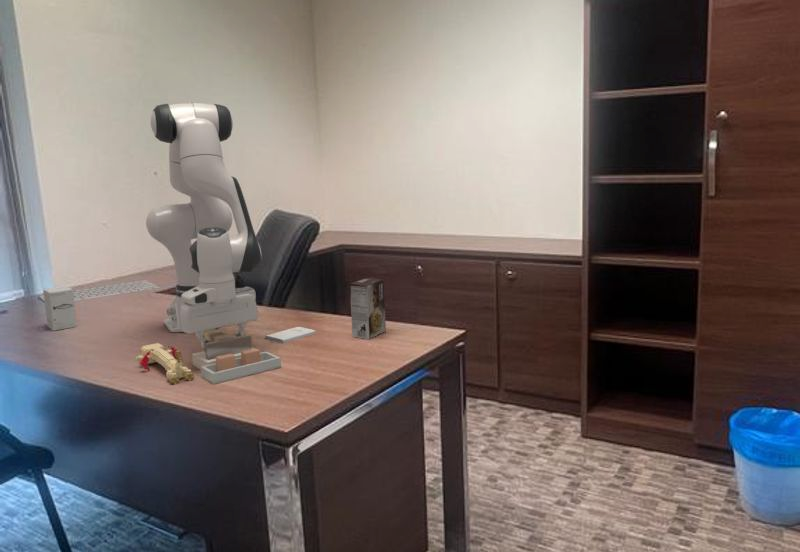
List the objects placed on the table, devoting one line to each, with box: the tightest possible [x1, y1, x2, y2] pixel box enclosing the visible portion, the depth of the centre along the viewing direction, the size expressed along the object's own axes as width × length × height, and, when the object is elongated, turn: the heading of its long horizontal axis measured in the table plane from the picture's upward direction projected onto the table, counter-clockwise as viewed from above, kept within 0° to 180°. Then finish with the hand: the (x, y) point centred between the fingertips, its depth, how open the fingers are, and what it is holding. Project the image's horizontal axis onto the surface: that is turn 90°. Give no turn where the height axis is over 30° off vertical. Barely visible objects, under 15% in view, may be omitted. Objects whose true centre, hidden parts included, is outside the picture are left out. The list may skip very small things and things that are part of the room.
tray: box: [200, 351, 282, 385], centre depth 171 cm, size 8×18×2 cm, turn 128°
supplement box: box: [42, 286, 78, 332], centre depth 222 cm, size 7×7×13 cm
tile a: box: [216, 354, 236, 372], centre depth 170 cm, size 4×4×2 cm
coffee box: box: [349, 277, 387, 340], centre depth 200 cm, size 9×6×16 cm
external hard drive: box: [265, 326, 316, 344], centre depth 203 cm, size 2×8×12 cm
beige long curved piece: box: [135, 342, 195, 385], centre depth 174 cm, size 10×9×25 cm
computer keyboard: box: [37, 279, 162, 303], centre depth 277 cm, size 43×19×2 cm, turn 128°
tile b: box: [241, 348, 261, 366], centre depth 174 cm, size 4×4×2 cm
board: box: [191, 347, 254, 370], centre depth 178 cm, size 10×14×3 cm
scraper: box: [202, 328, 253, 360], centre depth 181 cm, size 14×12×4 cm
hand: (222, 343), depth 179 cm, fingers open, 8 cm apart
